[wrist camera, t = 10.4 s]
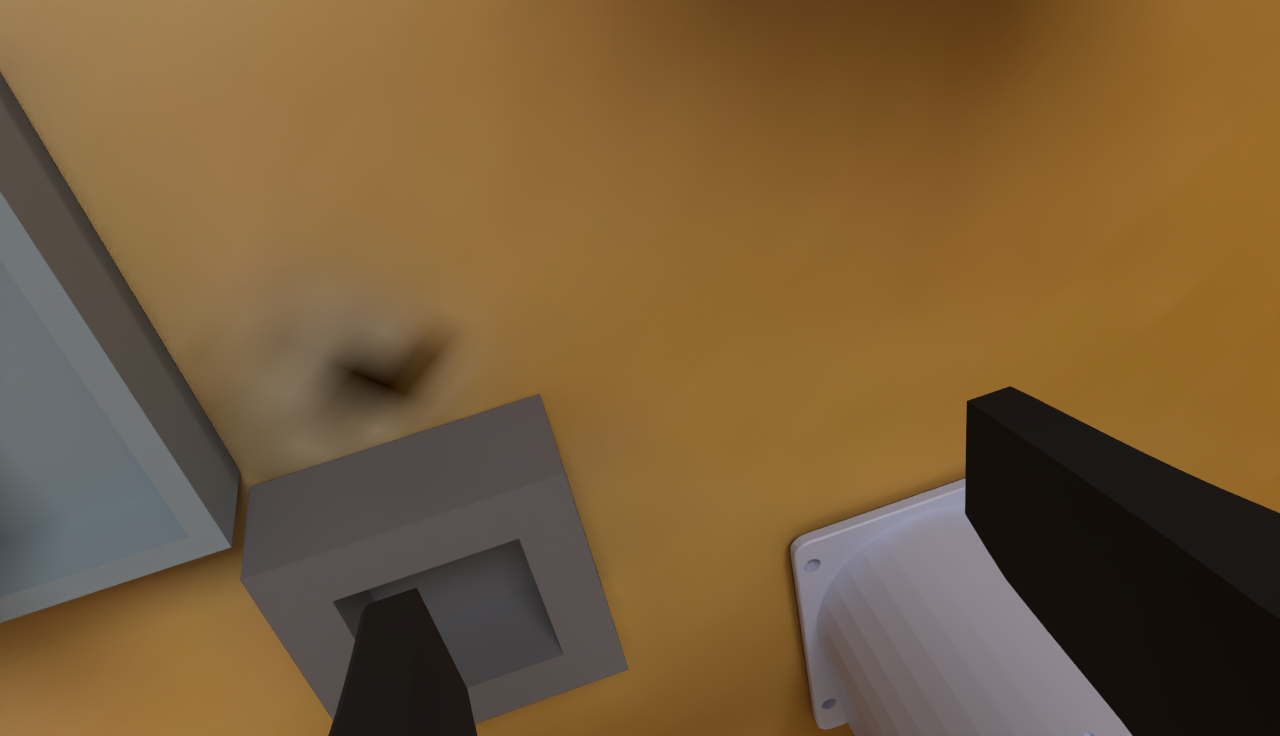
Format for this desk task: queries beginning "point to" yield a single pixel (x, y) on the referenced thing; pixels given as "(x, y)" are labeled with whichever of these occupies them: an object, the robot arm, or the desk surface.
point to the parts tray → (88, 407)
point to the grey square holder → (439, 558)
